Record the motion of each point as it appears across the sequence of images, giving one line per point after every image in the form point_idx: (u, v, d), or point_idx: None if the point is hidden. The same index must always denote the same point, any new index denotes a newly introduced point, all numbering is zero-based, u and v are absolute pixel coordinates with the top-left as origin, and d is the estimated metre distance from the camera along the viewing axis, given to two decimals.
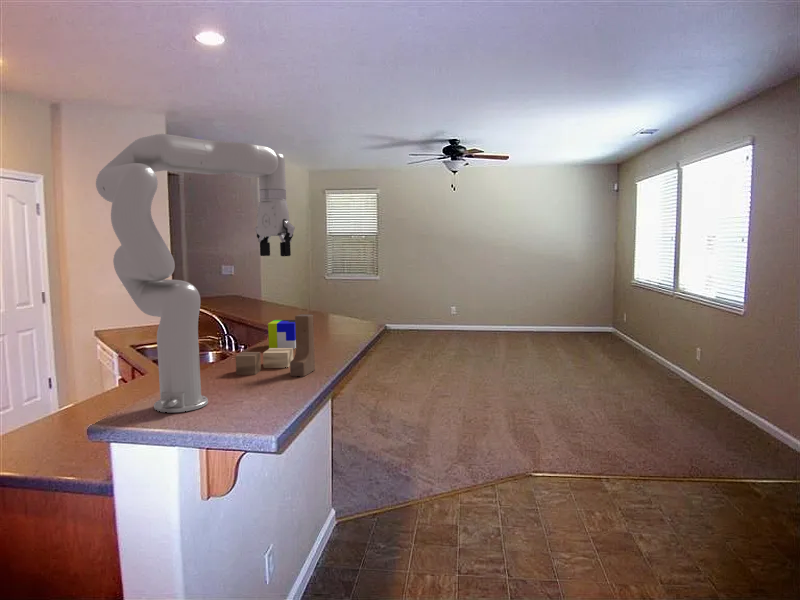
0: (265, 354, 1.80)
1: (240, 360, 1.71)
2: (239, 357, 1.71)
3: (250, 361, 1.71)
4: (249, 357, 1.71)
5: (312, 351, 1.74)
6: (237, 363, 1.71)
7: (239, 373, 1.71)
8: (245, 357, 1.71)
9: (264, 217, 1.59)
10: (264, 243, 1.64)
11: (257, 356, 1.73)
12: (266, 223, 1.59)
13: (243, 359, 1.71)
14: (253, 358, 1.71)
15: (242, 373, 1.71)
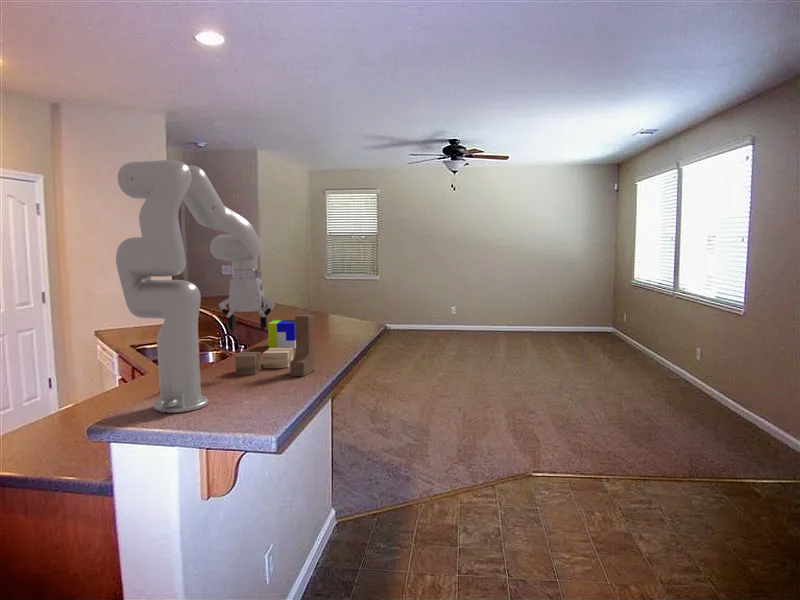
0: (265, 354, 1.80)
1: (240, 360, 1.71)
2: (239, 357, 1.71)
3: (250, 361, 1.71)
4: (249, 357, 1.71)
5: (312, 351, 1.74)
6: (237, 363, 1.71)
7: (239, 373, 1.71)
8: (245, 357, 1.71)
9: None
10: None
11: (257, 356, 1.73)
12: None
13: (243, 359, 1.71)
14: (253, 358, 1.71)
15: (242, 373, 1.71)
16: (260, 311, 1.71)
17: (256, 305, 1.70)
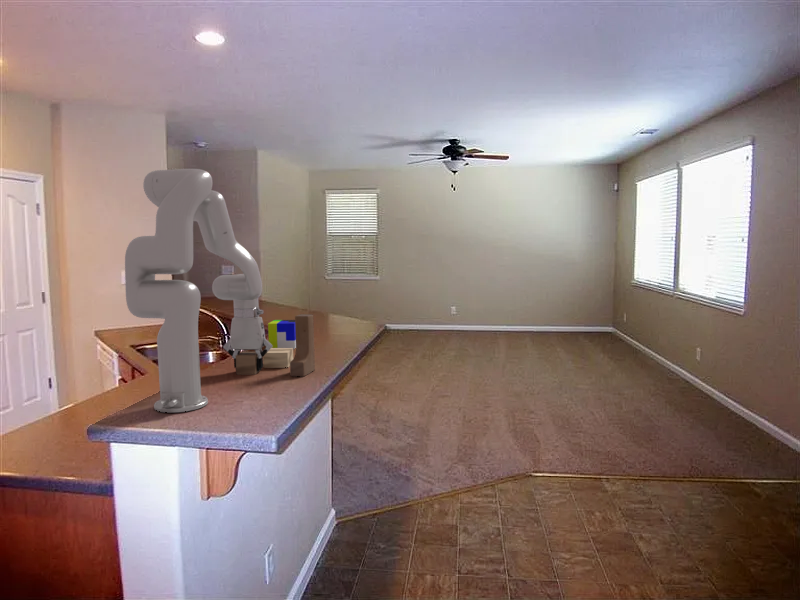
0: (265, 354, 1.80)
1: (240, 359, 1.71)
2: (239, 357, 1.71)
3: (250, 361, 1.71)
4: (249, 357, 1.71)
5: (312, 351, 1.74)
6: (237, 363, 1.71)
7: (239, 373, 1.71)
8: (245, 357, 1.71)
9: None
10: None
11: None
12: None
13: (243, 359, 1.71)
14: (253, 358, 1.71)
15: (242, 373, 1.71)
16: (257, 352, 1.72)
17: (256, 343, 1.71)
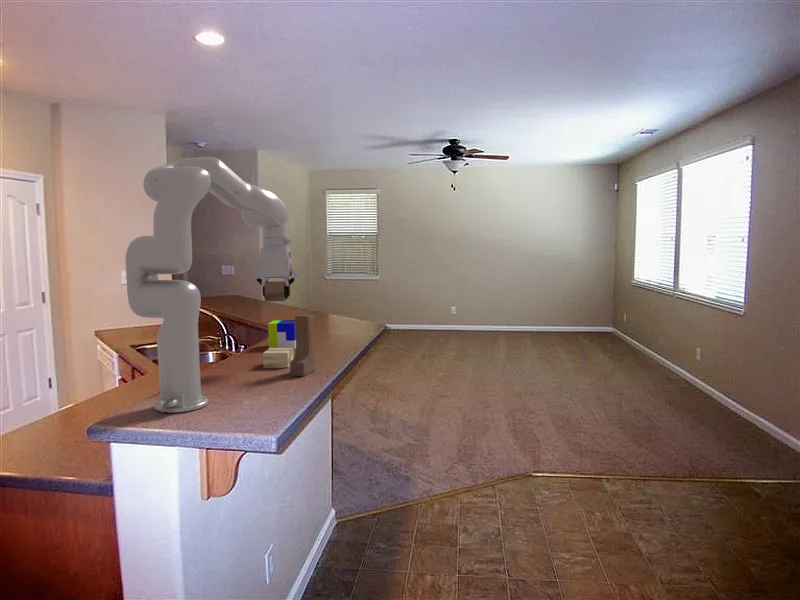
0: (265, 354, 1.80)
1: (268, 286, 1.78)
2: (268, 284, 1.78)
3: (278, 288, 1.78)
4: (277, 284, 1.78)
5: (312, 351, 1.74)
6: (266, 290, 1.79)
7: (268, 299, 1.79)
8: (274, 284, 1.78)
9: None
10: None
11: None
12: None
13: (272, 286, 1.78)
14: (281, 285, 1.78)
15: (271, 299, 1.79)
16: (285, 279, 1.80)
17: (284, 271, 1.79)
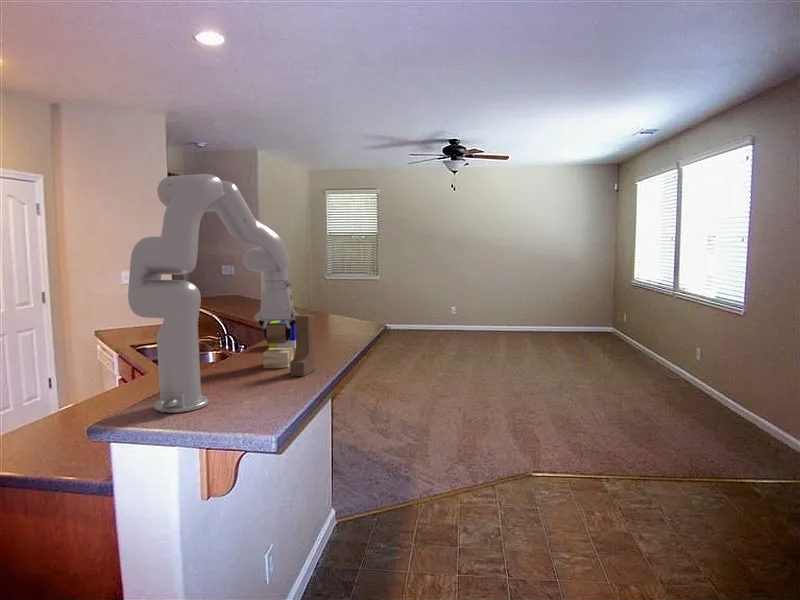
0: (265, 354, 1.80)
1: (270, 329, 1.80)
2: (269, 326, 1.80)
3: (280, 330, 1.80)
4: (279, 326, 1.80)
5: (312, 351, 1.74)
6: (267, 332, 1.80)
7: (269, 342, 1.80)
8: (275, 326, 1.80)
9: None
10: None
11: (286, 326, 1.82)
12: None
13: (273, 328, 1.80)
14: (283, 327, 1.80)
15: (272, 342, 1.80)
16: (287, 322, 1.81)
17: (286, 314, 1.80)
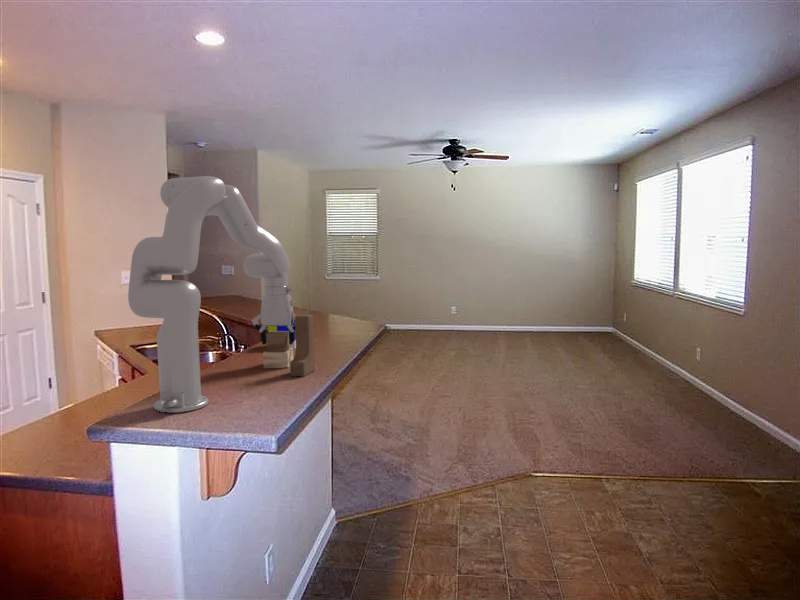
0: (265, 354, 1.80)
1: (270, 338, 1.80)
2: (269, 335, 1.80)
3: (280, 339, 1.80)
4: (279, 335, 1.80)
5: (312, 351, 1.74)
6: (267, 341, 1.80)
7: (269, 350, 1.81)
8: (275, 335, 1.80)
9: None
10: None
11: (286, 334, 1.83)
12: None
13: (273, 337, 1.80)
14: (283, 336, 1.80)
15: (272, 350, 1.80)
16: (289, 326, 1.81)
17: (286, 320, 1.80)
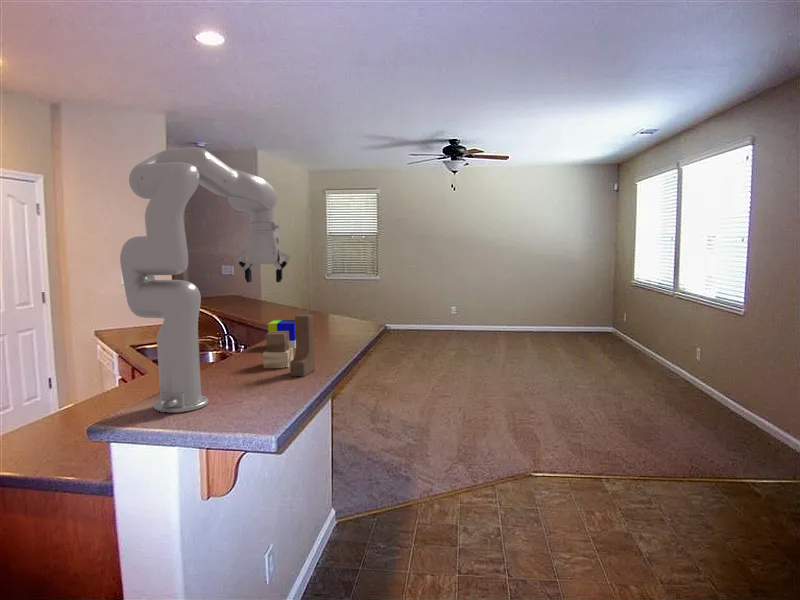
0: (265, 354, 1.80)
1: (270, 338, 1.80)
2: (269, 335, 1.80)
3: (280, 339, 1.80)
4: (279, 335, 1.80)
5: (312, 351, 1.74)
6: (267, 341, 1.80)
7: (269, 350, 1.81)
8: (275, 335, 1.80)
9: None
10: None
11: (286, 334, 1.83)
12: None
13: (273, 337, 1.80)
14: (283, 336, 1.80)
15: (272, 350, 1.80)
16: (276, 263, 1.76)
17: (272, 257, 1.75)
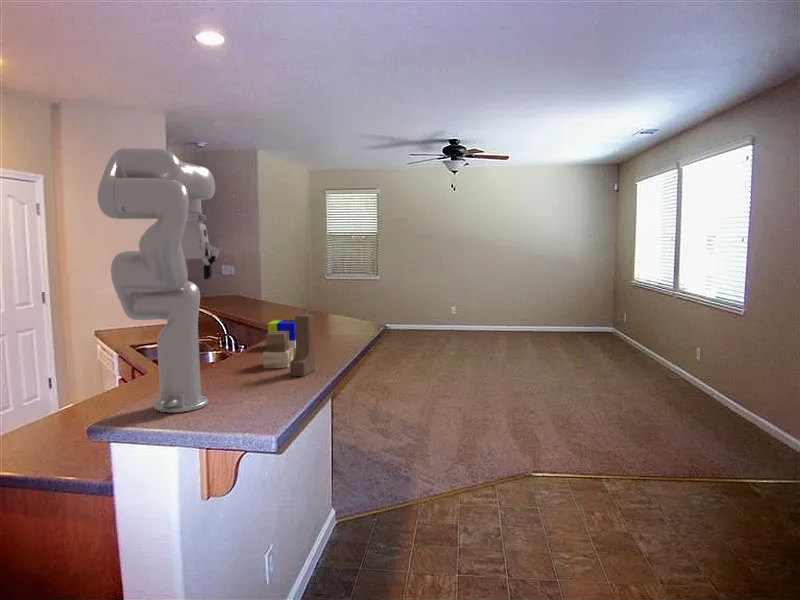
0: (265, 354, 1.80)
1: (270, 338, 1.80)
2: (269, 335, 1.80)
3: (280, 339, 1.80)
4: (279, 335, 1.80)
5: (312, 351, 1.74)
6: (267, 341, 1.80)
7: (269, 350, 1.81)
8: (275, 335, 1.80)
9: None
10: None
11: (286, 334, 1.83)
12: None
13: (273, 337, 1.80)
14: (283, 336, 1.80)
15: (272, 350, 1.80)
16: (203, 259, 1.58)
17: (198, 251, 1.57)
